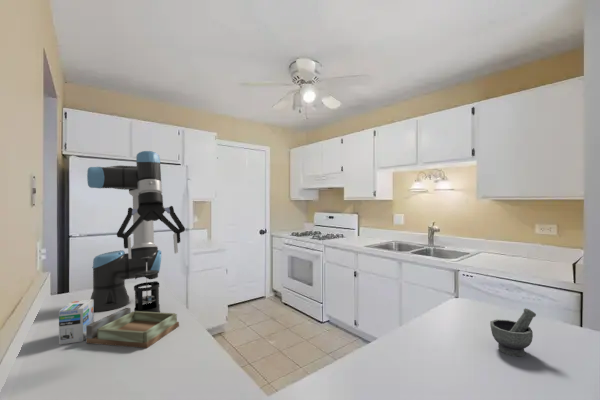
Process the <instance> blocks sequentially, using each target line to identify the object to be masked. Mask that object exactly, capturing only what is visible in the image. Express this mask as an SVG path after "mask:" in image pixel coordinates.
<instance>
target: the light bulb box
mask: <svg viewBox="0 0 600 400" xmlns="http://www.w3.org/2000/svg"><path fill="white" fill-rule="evenodd" d="M90 299H91V298H90ZM90 299H83V300H72V301H70V302H69V303H68V304H67V305H65V306H64V307H63V308H62V309H60V310H59V311H58V344H59V346H60V345H66V344H74V343H81V342H84V341H85V340H87V334H86V326H87V325H89V324H91V323H93V322H95V321H94V320H95V315H94V314H95V313H94V312H95V311H94V300H93V299H91V300H90Z"/></svg>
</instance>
